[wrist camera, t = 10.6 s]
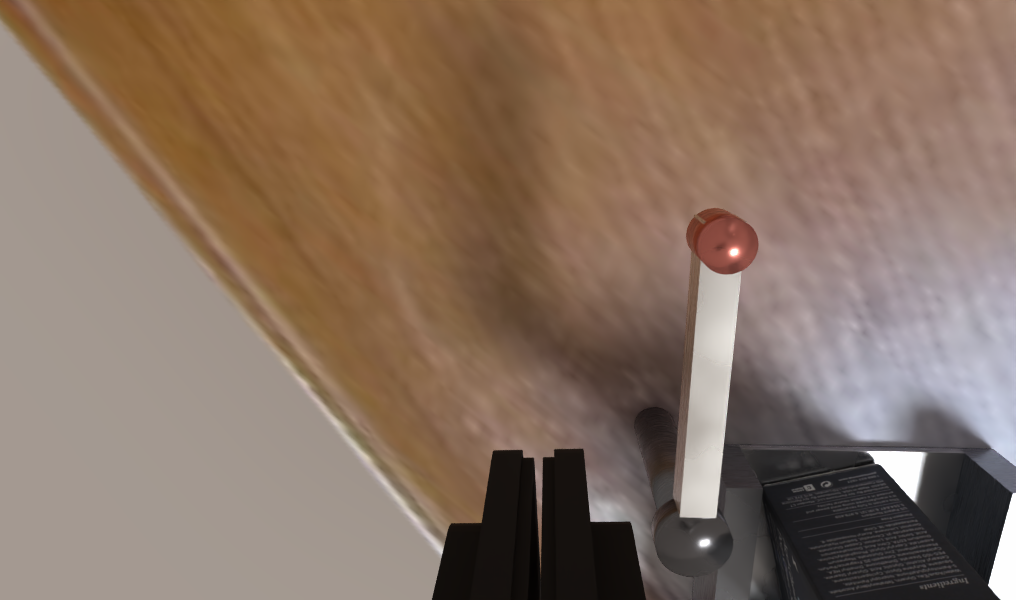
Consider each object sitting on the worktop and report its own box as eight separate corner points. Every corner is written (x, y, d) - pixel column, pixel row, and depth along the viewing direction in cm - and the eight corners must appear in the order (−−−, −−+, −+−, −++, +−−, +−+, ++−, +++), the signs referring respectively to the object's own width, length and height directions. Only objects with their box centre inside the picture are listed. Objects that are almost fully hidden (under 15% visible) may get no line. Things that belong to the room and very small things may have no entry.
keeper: (635, 407, 29) (662, 497, 23) (1002, 411, 28) (1143, 508, 22) (623, 634, 33) (642, 768, 27) (943, 645, 32) (1047, 786, 26)
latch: (671, 208, 19) (683, 219, 17) (758, 207, 19) (779, 218, 17) (648, 554, 23) (657, 590, 21) (721, 555, 23) (735, 592, 21)
